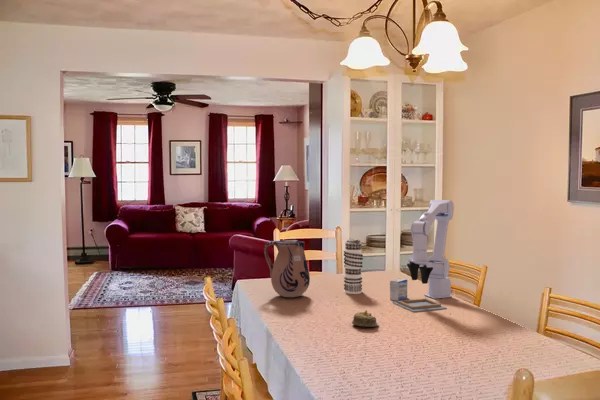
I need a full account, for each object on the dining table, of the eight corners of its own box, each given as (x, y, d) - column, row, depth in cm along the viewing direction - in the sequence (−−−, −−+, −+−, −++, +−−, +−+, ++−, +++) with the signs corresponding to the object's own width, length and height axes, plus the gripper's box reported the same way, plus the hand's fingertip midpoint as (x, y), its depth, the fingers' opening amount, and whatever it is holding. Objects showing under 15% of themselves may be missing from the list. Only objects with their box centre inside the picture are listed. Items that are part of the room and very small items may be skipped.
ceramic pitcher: (309, 300, 228) (309, 243, 227) (261, 299, 229) (261, 243, 228) (309, 291, 246) (310, 239, 245) (265, 291, 246) (265, 238, 245)
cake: (357, 329, 186) (357, 314, 186) (347, 321, 195) (347, 307, 195) (383, 327, 189) (383, 312, 188) (372, 320, 198) (372, 306, 198)
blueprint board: (424, 300, 229) (424, 296, 229) (446, 308, 214) (446, 305, 214) (392, 303, 224) (392, 299, 224) (413, 312, 209) (413, 308, 209)
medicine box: (398, 301, 227) (398, 281, 227) (389, 299, 230) (389, 280, 230) (407, 298, 233) (407, 279, 233) (398, 296, 236) (399, 278, 236)
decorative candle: (339, 290, 248) (340, 238, 247) (356, 289, 252) (356, 237, 250) (349, 294, 239) (349, 240, 238) (366, 293, 243) (366, 240, 242)
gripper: (402, 247, 223) (402, 279, 224) (421, 252, 210) (421, 285, 210) (416, 247, 226) (416, 278, 226) (436, 251, 212) (435, 284, 213)
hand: (419, 281), depth 219 cm, fingers open, 7 cm apart
